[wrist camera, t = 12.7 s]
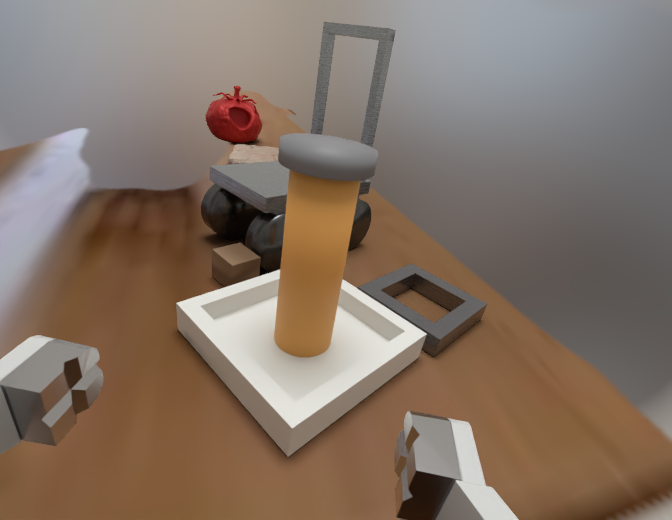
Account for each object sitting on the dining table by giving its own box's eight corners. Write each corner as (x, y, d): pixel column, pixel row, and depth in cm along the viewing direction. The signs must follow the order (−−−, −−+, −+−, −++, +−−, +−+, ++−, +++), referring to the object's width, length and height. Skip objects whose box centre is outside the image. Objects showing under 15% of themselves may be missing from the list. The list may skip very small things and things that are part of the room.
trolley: (258, 281, 30) (277, -7, 21) (201, 236, 35) (197, -10, 26) (365, 245, 39) (410, 33, 30) (307, 213, 44) (332, 24, 35)
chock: (231, 293, 28) (232, 265, 27) (212, 276, 29) (212, 249, 28) (258, 284, 29) (260, 257, 28) (239, 268, 31) (239, 242, 30)
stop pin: (289, 375, 21) (316, 159, 15) (251, 326, 24) (261, 132, 18) (355, 348, 24) (398, 157, 18) (313, 307, 27) (339, 134, 21)
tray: (287, 456, 17) (292, 428, 16) (177, 329, 24) (176, 303, 23) (418, 357, 25) (426, 333, 24) (308, 280, 31) (311, 259, 30)
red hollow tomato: (195, 137, 69) (192, 81, 64) (233, 132, 77) (233, 82, 72) (236, 148, 65) (236, 90, 61) (272, 142, 73) (274, 90, 69)
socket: (433, 357, 25) (440, 339, 24) (354, 303, 29) (358, 287, 28) (480, 319, 30) (487, 303, 29) (407, 277, 34) (411, 263, 33)
